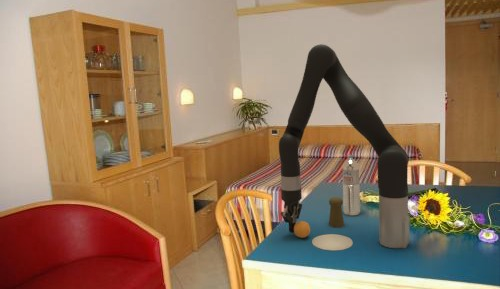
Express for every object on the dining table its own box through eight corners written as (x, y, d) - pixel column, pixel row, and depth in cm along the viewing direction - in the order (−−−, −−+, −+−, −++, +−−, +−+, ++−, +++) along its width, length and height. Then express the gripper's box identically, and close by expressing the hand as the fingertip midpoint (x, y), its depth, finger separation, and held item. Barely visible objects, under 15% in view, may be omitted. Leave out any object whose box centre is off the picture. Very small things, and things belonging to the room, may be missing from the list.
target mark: (358, 238, 144) (358, 238, 144) (344, 253, 132) (344, 253, 132) (321, 232, 151) (321, 231, 151) (305, 246, 140) (305, 245, 140)
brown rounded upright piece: (344, 227, 155) (343, 200, 153) (328, 227, 156) (327, 200, 154) (344, 222, 161) (343, 195, 159) (328, 221, 162) (327, 195, 160)
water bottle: (363, 214, 168) (362, 155, 164) (349, 217, 166) (348, 157, 162) (353, 209, 175) (352, 153, 171) (340, 212, 172) (338, 155, 168)
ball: (305, 236, 151) (316, 229, 148) (297, 243, 146) (309, 235, 143) (295, 223, 152) (305, 215, 149) (287, 229, 147) (298, 221, 144)
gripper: (291, 192, 140) (293, 239, 143) (308, 183, 151) (309, 227, 154) (273, 190, 144) (274, 236, 147) (290, 181, 155) (291, 224, 158)
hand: (292, 231), depth 150 cm, fingers closed
